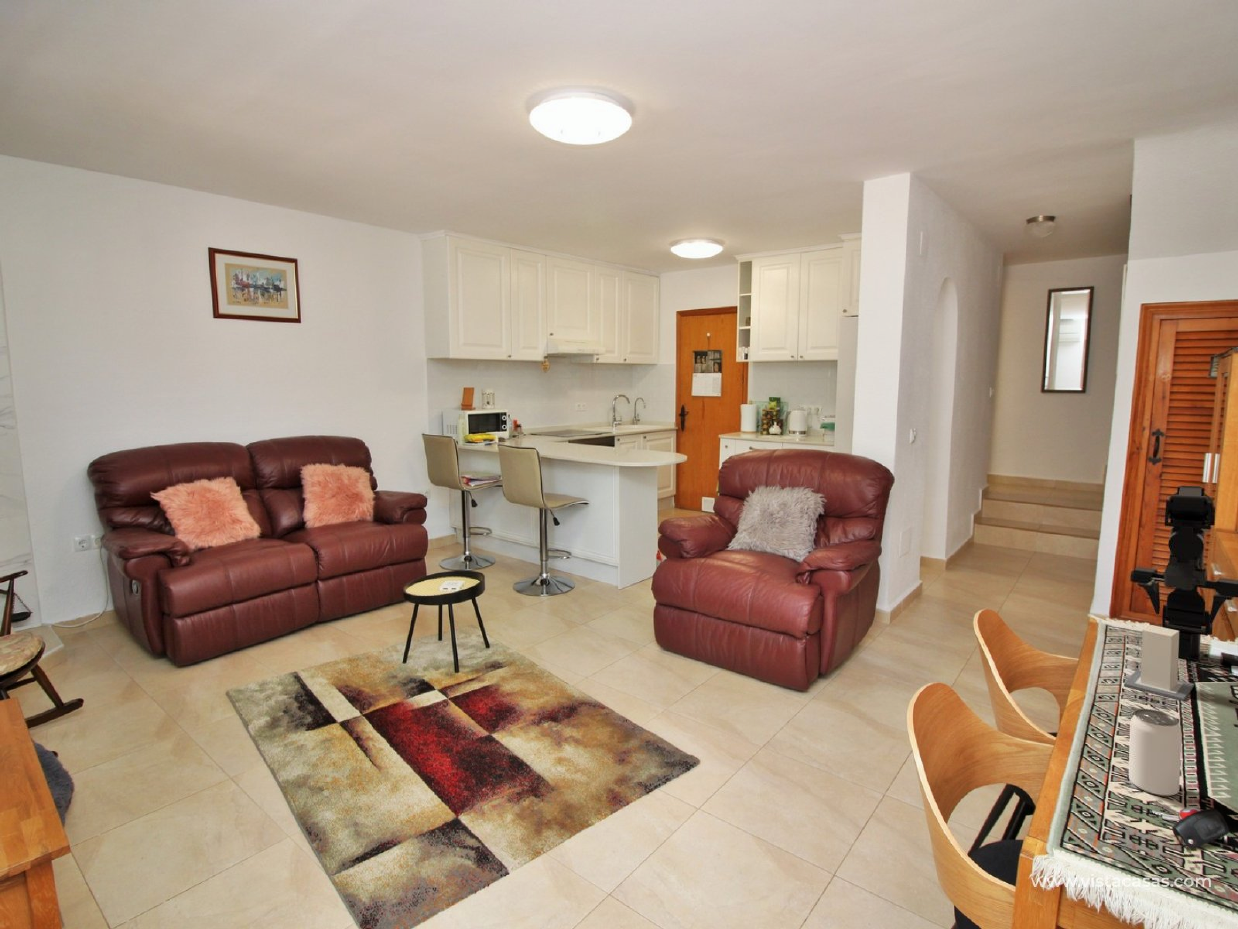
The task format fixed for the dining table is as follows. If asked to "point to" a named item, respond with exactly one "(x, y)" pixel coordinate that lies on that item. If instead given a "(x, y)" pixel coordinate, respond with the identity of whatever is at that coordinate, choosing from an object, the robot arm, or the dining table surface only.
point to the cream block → (1159, 657)
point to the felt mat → (1176, 692)
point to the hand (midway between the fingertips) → (1183, 618)
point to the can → (1155, 752)
